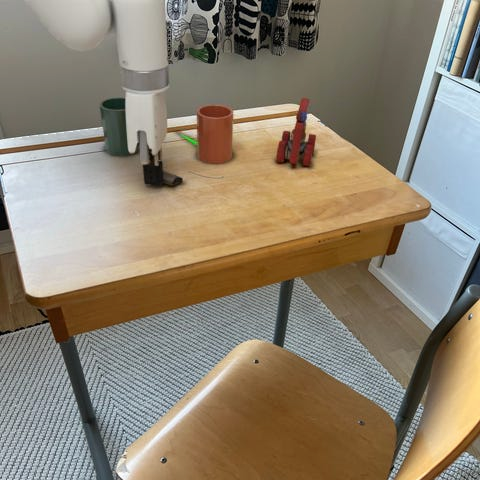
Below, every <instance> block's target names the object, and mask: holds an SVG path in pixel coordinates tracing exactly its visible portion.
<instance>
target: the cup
mask: <svg viewBox="0 0 480 480" xmlns="http://www.w3.org/2000/svg"><path fill="white" fill-rule="evenodd" d="M234 114H235V113H234V110H233V109H232V108H231V107H228V106H226V105H222V104H206V105H202V106H200V107H199V108H197V110H196V142H197V146H196V151H197V152H196V153H197V158H198V160H200V161H202V162H205V163H207V164H223V163H224V164H225V163H227V162H229V161H230V160H232V157H233V140H234V138H233V137H234Z"/></svg>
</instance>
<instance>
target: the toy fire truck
mask: <svg viewBox="0 0 480 480" xmlns="http://www.w3.org/2000/svg"><path fill="white" fill-rule="evenodd" d="M309 103H310V99H309V98H306V97H302V98H301V99H300V103H299V107H298V111H297V113H296V116H295V119H296V121H295V125H294V128H293V129H292V131H290V130H283V131H282V135H281V140H279V142H278V145H277V150H276V151H277V152H276V162H277V163H285V160H289V163H290V164H294V165H298V162H299V159H300V158H302V165H303V166H306V167H309V166H311V162H312V159H313V158H312V156H313V155H314V152H315V146H316V140H317V135H316V134H313V133H310V134H308V138H307V132H306V129H307V120H308V109H309ZM306 138H307V141H305V140H306Z"/></svg>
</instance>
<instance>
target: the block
mask: <svg viewBox="0 0 480 480" xmlns="http://www.w3.org/2000/svg"><path fill="white" fill-rule="evenodd" d="M163 178H164V181H163V182H162V184H166V185H169V186H175V185H178V184H180V183H182V182H183V177H181V176H179V175H176V174H174V173H170V172H168V171H164V170H163Z"/></svg>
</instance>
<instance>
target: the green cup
mask: <svg viewBox="0 0 480 480" xmlns="http://www.w3.org/2000/svg"><path fill="white" fill-rule="evenodd" d="M125 99H126V97H120V96H119V97H109V98H105V99H103V100H101V101H100V102H99V103H98V105H99V114H100V119H101V120H100V121H101V128H102V134H103V142H104V149H105V151H106V153H108V154H110V155H113V156H118V157H126V156H131V155H134V154H137V153H139V152H140V145H139V146H138V148H137V149H136V151H135V153H133V154H131V153H130V152H129V151H128V142H127V128H126V109H125Z"/></svg>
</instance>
